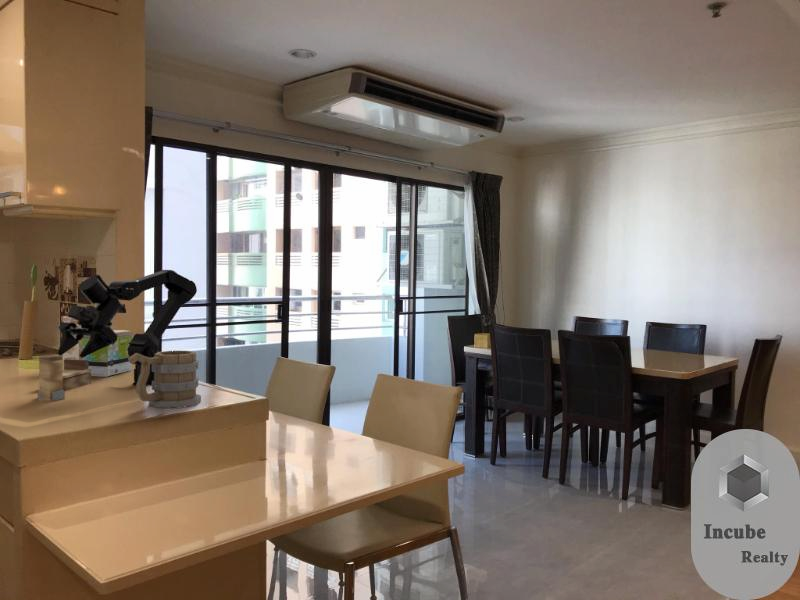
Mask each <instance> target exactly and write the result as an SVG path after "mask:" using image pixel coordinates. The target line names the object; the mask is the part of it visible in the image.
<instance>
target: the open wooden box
mask: <svg viewBox="0 0 800 600" xmlns="http://www.w3.org/2000/svg"><path fill="white" fill-rule="evenodd" d="M86 385H92V376H91V373H88V372H87V373H84V374H80V375H76V376H73V377H69V378H63V390H64V391H70V390H72V389H76V388H79V387H83V386H86Z"/></svg>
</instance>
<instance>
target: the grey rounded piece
mask: <svg viewBox="0 0 800 600" xmlns="http://www.w3.org/2000/svg"><path fill="white" fill-rule="evenodd" d="M65 397H66V392H65V391H64V390H60V391H54V392H52V400H44V399H40V389H37V400H38V401H41V402H45V401H46V402H47V401H49V402H51V401H59V400H64V399H66V398H65Z"/></svg>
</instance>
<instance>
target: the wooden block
mask: <svg viewBox="0 0 800 600" xmlns="http://www.w3.org/2000/svg"><path fill="white" fill-rule="evenodd" d="M38 369H39V371H38V372H39V374H38V376H39V378H38V380H39V382H38V383H39V385H38V387H39V389H38V390H40V399H44V400H52V392H54V391H60V390H63V371H62V369H63V355H61V356H60V355H54V354H52V355H51V354H50V355H42V356H38Z"/></svg>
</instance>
